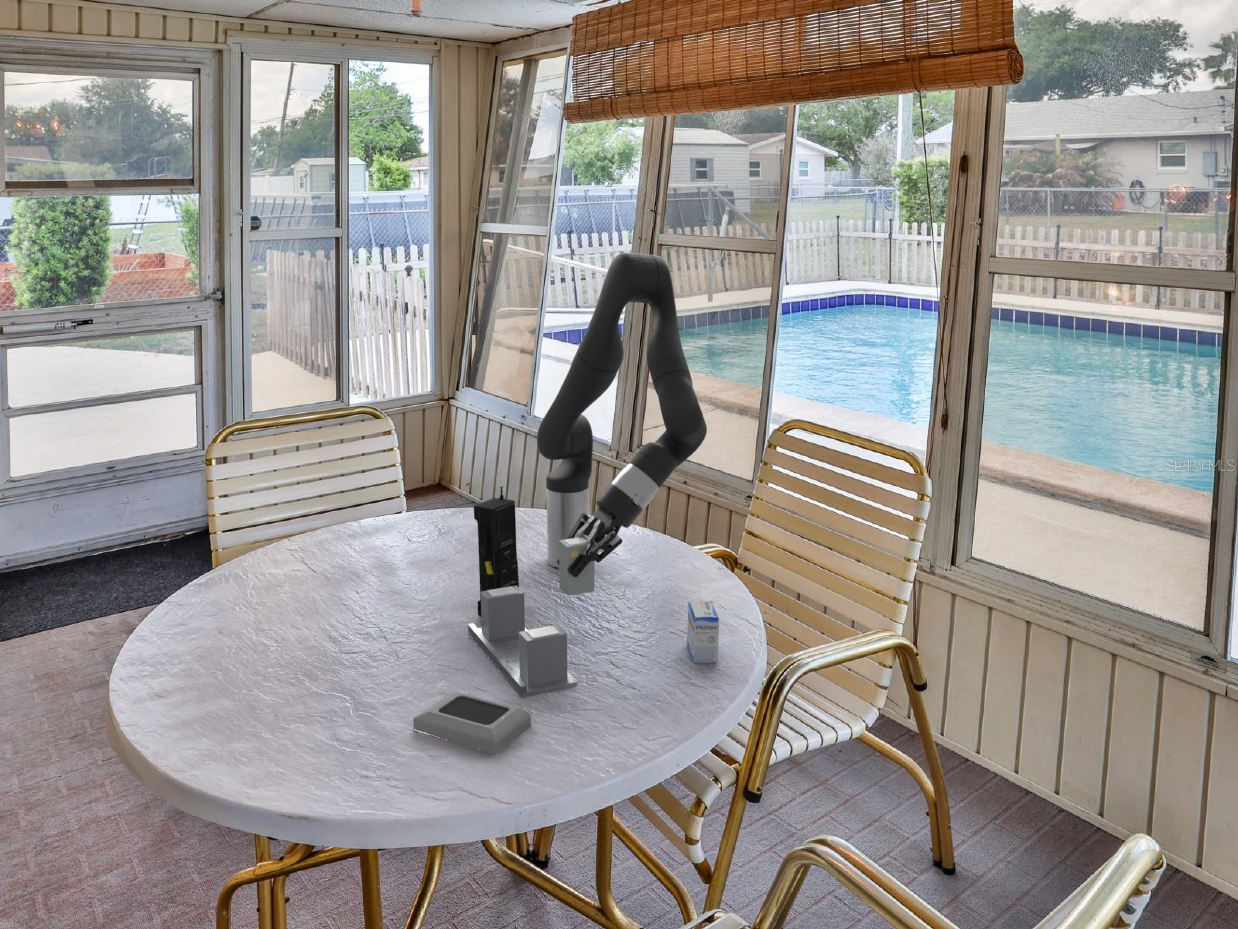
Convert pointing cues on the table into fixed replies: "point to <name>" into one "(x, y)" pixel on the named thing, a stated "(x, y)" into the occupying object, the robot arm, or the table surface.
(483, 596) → the mounted modules
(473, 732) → the grey flat block
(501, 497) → the portable radio
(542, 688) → the rail
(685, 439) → the robot arm
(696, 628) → the medicine box
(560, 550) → the block
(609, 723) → the table surface
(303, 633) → the table surface
